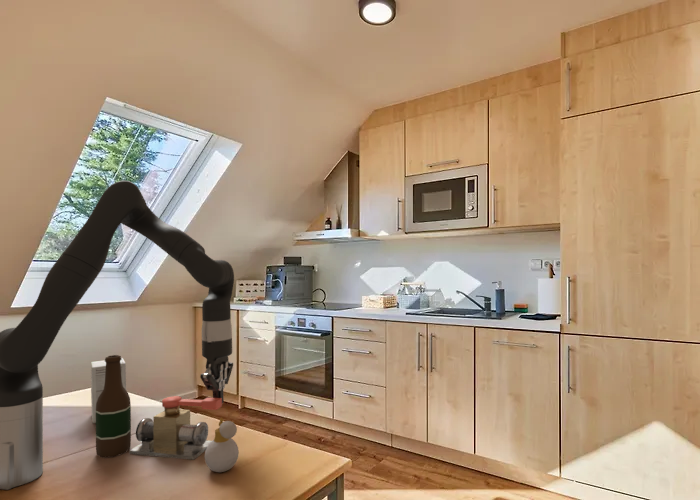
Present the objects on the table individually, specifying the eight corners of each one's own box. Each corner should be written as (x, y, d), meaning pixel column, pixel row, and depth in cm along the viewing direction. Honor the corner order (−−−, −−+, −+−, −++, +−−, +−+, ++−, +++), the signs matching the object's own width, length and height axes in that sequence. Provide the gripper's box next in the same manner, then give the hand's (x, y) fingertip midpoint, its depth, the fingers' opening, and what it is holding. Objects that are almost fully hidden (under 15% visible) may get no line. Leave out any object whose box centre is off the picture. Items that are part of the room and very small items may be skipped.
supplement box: (124, 408, 142) (124, 357, 143) (127, 417, 134) (127, 362, 135) (90, 414, 137) (90, 361, 138) (91, 423, 129) (91, 366, 130)
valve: (194, 459, 104) (193, 413, 105) (129, 453, 108) (129, 409, 108) (213, 444, 113) (213, 401, 113) (153, 439, 117) (152, 398, 117)
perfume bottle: (222, 459, 104) (222, 408, 105) (253, 468, 99) (252, 415, 100) (197, 472, 98) (196, 418, 98) (228, 483, 93) (227, 426, 93)
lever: (158, 408, 109) (158, 400, 109) (169, 402, 114) (169, 394, 114) (214, 411, 106) (214, 402, 106) (223, 404, 111) (223, 396, 111)
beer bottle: (137, 446, 112) (137, 353, 113) (114, 459, 105) (113, 360, 106) (113, 443, 115) (112, 352, 115) (88, 456, 107) (87, 358, 108)
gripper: (217, 332, 120) (218, 395, 119) (189, 341, 107) (190, 412, 107) (242, 332, 118) (243, 396, 118) (217, 342, 105) (218, 414, 105)
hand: (218, 404), depth 112 cm, fingers closed
